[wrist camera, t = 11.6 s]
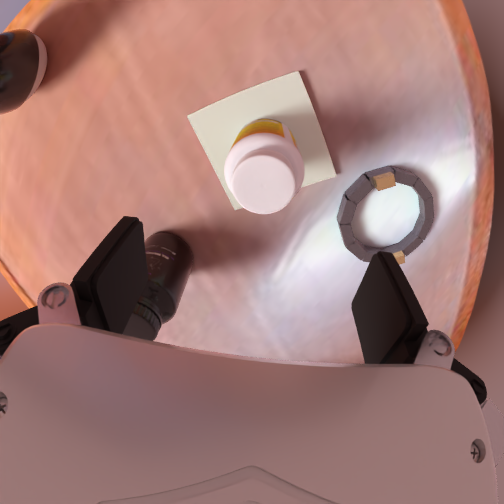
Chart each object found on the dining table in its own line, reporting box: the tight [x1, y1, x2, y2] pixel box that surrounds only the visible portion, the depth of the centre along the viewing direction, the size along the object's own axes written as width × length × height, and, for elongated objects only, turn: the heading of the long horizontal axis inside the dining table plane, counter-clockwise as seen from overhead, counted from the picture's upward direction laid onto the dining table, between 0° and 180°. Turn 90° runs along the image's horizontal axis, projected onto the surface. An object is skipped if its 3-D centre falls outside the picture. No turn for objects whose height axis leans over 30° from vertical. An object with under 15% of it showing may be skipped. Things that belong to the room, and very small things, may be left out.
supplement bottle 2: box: [224, 118, 305, 214], centre depth 21 cm, size 6×6×10 cm
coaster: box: [187, 71, 336, 210], centre depth 25 cm, size 11×11×1 cm
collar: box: [337, 166, 434, 264], centre depth 28 cm, size 11×11×2 cm
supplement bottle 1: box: [123, 233, 193, 341], centre depth 29 cm, size 7×7×12 cm
